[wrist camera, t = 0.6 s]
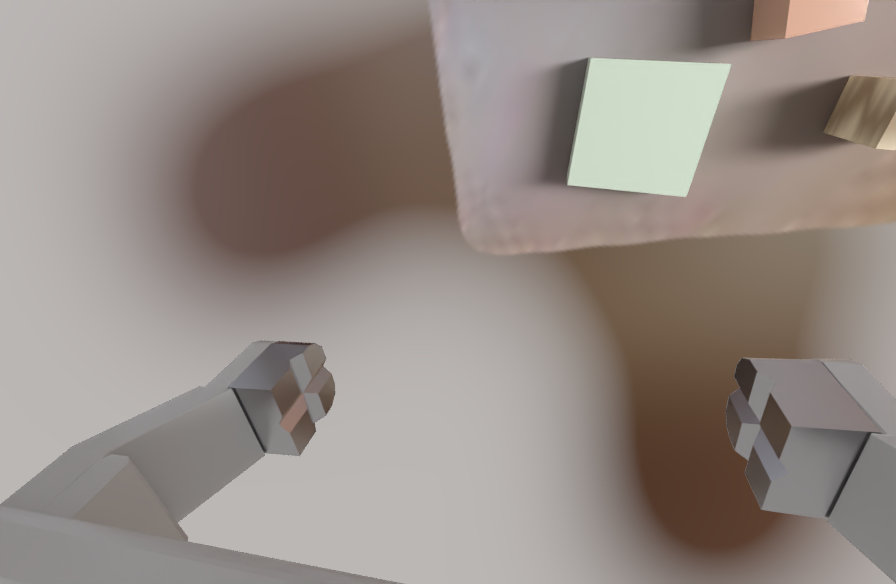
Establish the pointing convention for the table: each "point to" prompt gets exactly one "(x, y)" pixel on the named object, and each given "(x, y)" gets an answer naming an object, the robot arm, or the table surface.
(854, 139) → the beech block
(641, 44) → the table surface
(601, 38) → the table surface
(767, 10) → the terracotta block
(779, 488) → the robot arm
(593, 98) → the sage pedestal block
